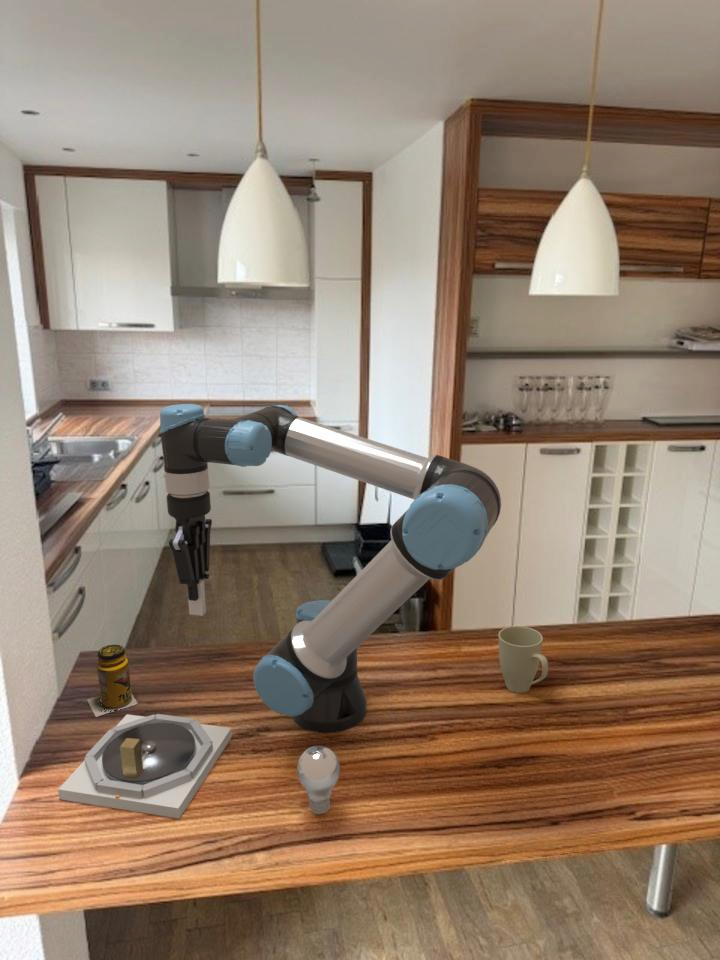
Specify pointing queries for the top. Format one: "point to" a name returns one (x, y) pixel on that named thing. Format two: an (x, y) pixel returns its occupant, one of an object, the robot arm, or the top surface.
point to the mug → (521, 657)
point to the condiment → (112, 681)
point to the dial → (148, 753)
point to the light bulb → (318, 776)
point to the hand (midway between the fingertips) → (197, 613)
